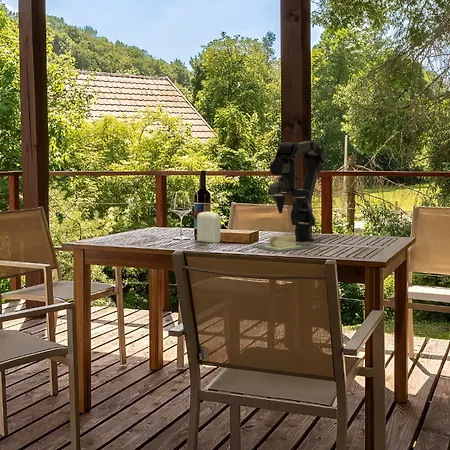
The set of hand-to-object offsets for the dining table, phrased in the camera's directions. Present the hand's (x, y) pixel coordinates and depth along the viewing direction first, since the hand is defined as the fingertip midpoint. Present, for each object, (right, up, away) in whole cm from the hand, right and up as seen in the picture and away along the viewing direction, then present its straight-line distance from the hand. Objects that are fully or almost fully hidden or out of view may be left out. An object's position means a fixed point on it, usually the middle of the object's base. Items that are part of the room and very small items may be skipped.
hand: (288, 214), depth 277 cm
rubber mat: (-3, -13, -8) cm, 16 cm away
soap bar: (-32, -11, +9) cm, 35 cm away
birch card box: (-3, -13, -8) cm, 15 cm away
